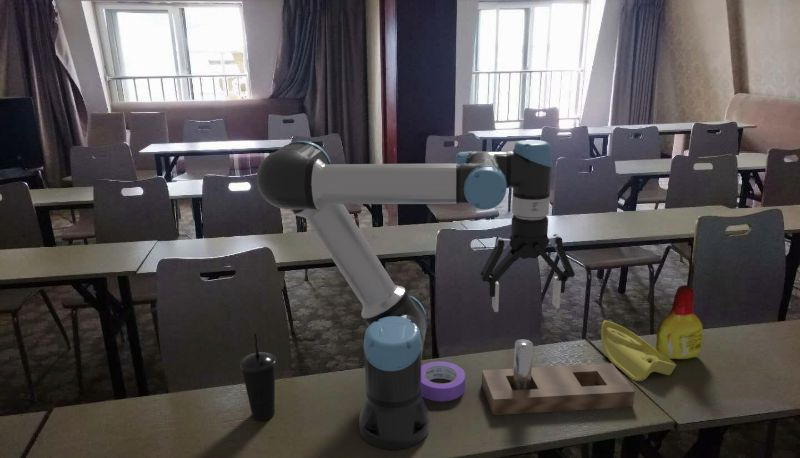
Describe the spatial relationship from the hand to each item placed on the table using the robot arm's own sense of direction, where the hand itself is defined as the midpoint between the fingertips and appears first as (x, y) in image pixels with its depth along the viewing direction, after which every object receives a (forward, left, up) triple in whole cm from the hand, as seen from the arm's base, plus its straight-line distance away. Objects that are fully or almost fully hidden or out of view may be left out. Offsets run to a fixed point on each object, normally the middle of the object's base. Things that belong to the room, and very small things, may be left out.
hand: (525, 307), depth 126 cm
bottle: (+45, +14, -23) cm, 53 cm away
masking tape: (-18, +6, -23) cm, 30 cm away
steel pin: (0, 0, -23) cm, 23 cm away
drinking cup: (-59, -1, -23) cm, 63 cm away
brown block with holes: (+8, 0, -23) cm, 24 cm away
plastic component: (+33, +13, -23) cm, 43 cm away
